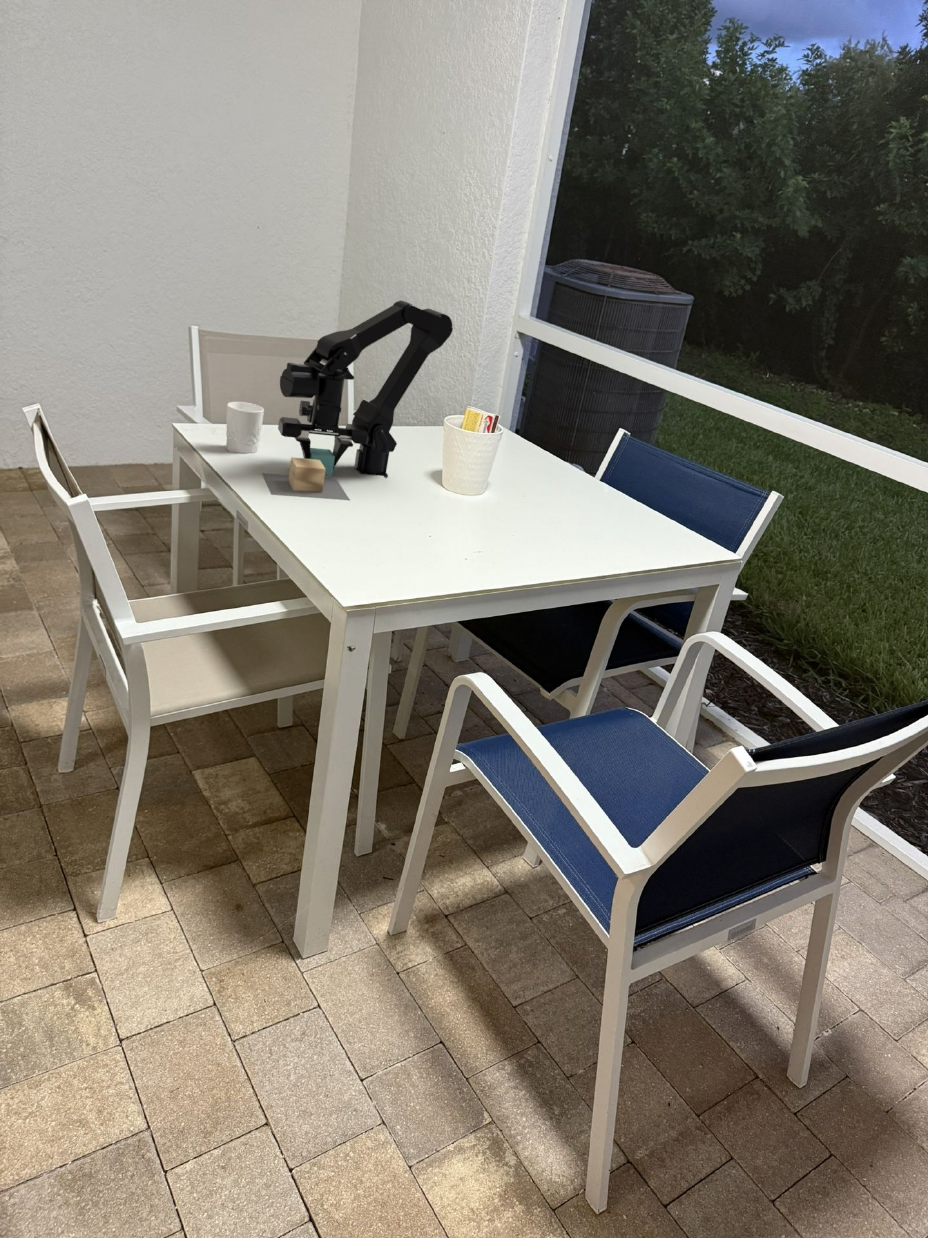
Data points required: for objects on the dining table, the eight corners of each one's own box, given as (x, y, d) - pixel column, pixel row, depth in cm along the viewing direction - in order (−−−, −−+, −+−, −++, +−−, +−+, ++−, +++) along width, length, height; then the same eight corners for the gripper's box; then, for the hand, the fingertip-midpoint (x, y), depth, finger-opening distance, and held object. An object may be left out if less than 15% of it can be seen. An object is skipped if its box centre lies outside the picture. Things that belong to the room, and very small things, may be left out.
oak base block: (316, 482, 192) (319, 459, 190) (322, 492, 187) (325, 469, 185) (288, 480, 190) (291, 457, 188) (293, 490, 185) (296, 466, 183)
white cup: (220, 444, 205) (223, 400, 201) (255, 446, 209) (259, 403, 205) (227, 455, 199) (231, 410, 195) (263, 457, 203) (268, 413, 199)
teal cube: (327, 471, 203) (330, 449, 201) (331, 478, 199) (334, 456, 197) (304, 469, 201) (307, 447, 199) (309, 476, 197) (311, 454, 195)
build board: (336, 481, 197) (336, 478, 197) (349, 502, 187) (350, 499, 186) (261, 475, 191) (261, 472, 191) (271, 496, 181) (271, 494, 180)
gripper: (361, 393, 203) (351, 461, 210) (277, 383, 196) (270, 453, 203) (374, 407, 194) (363, 476, 201) (286, 397, 187) (278, 469, 193)
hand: (318, 468), depth 200 cm, fingers open, 5 cm apart
